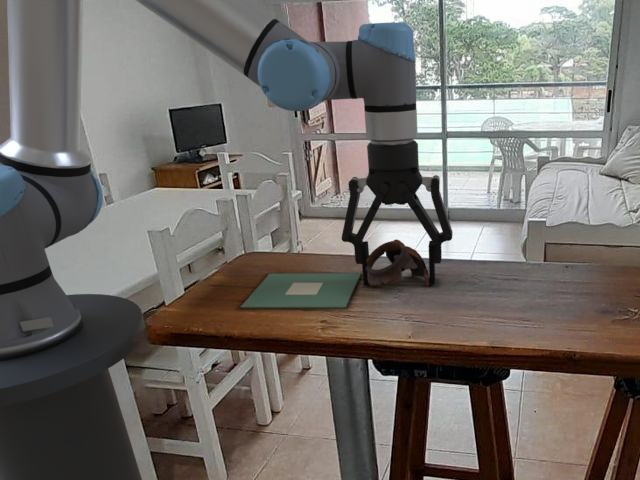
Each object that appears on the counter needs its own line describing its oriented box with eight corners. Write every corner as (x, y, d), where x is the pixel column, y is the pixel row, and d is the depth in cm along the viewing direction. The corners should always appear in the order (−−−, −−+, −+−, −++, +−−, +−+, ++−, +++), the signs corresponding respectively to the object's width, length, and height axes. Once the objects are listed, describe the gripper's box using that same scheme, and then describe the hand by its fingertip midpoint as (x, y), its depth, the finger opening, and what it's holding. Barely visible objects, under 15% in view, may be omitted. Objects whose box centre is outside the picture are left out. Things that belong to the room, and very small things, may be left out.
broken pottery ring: (438, 295, 90) (414, 258, 84) (386, 321, 91) (359, 286, 86) (427, 253, 99) (405, 217, 94) (379, 277, 101) (355, 243, 95)
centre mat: (240, 308, 86) (240, 306, 86) (269, 275, 99) (269, 273, 99) (345, 308, 85) (345, 306, 85) (361, 274, 98) (360, 272, 97)
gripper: (469, 135, 86) (469, 273, 96) (322, 139, 88) (336, 274, 98) (469, 142, 80) (469, 290, 89) (310, 146, 81) (326, 290, 91)
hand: (399, 281), depth 93 cm, fingers closed on broken pottery ring, 10 cm apart
